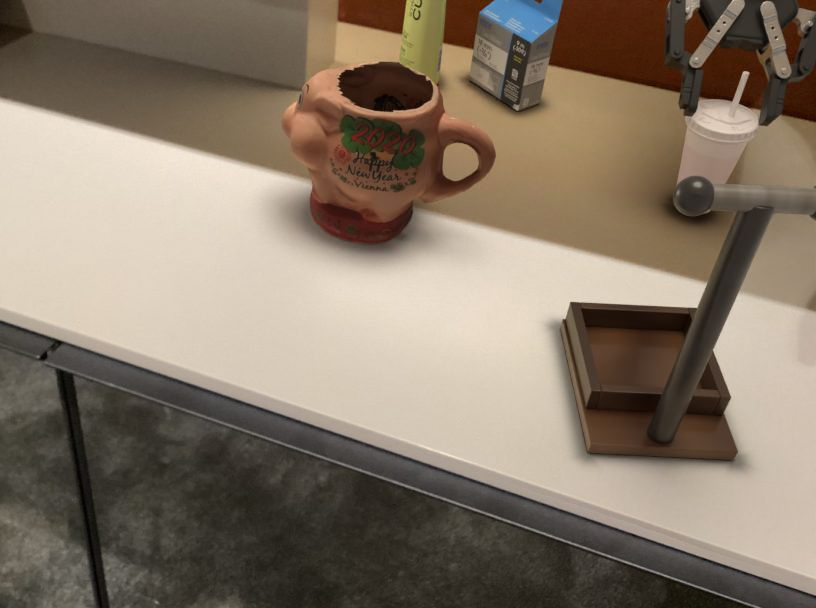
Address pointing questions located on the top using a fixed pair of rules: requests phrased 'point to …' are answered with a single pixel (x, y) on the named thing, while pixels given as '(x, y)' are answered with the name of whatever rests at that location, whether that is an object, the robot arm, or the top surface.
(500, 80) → the blue grey carton
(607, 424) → the jewelry holder
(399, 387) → the top surface
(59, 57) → the top surface
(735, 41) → the robot arm
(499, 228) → the top surface
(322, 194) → the pink novelty mug
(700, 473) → the top surface
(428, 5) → the tube
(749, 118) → the smoothie
